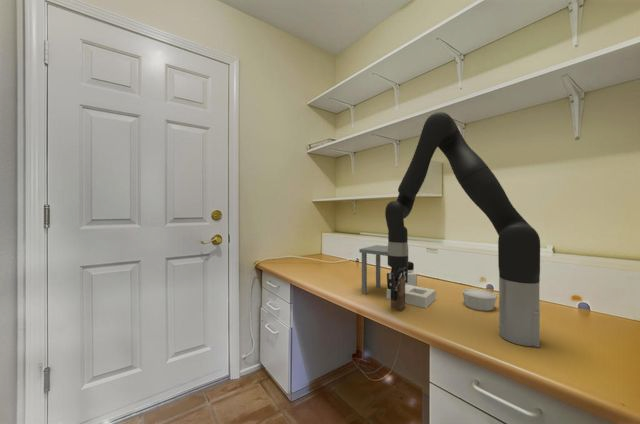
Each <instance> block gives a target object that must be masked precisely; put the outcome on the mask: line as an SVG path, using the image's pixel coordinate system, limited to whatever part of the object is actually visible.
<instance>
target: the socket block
mask: <svg viewBox="0 0 640 424" xmlns="http://www.w3.org/2000/svg"><path fill="white" fill-rule="evenodd" d="M436 296H437V293H436V289H432V288H426V287H421V286H418V285H417V286H412V285H407V284H406V285H405V305H407V304H408V305H411V306H415V307H418V308H419V307H420V308H423V309H427V308H428V307H430V305H432V304H433V303H434V302H435V301H436V298H437V297H436ZM386 300H389V301H391V290H390V289H388V288H387V289H386Z"/></svg>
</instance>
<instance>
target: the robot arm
mask: <svg viewBox="0 0 640 424" xmlns="http://www.w3.org/2000/svg"><path fill="white" fill-rule="evenodd" d="M437 148H438V149H439V150H440V151H441V152H442V153H443V155H444V156H445V157H446V159H447V160H448V163H449V165H450V168H451V170H452V172H453V174H454V176H455V178H456V181H457V182H458V184H459V185H460V187H461V188H462V190H463V191H464V192H465V194H466V195H467V196H468V197H469V199H470V200H471V202H473V203H474V204H475V205H476V207H478V208H479V210H481V211H482V212H483V213H484V215H485V216H486V217H487V218H488V220H489V221H490V222H491V224H492V225H493V227H494V229H495V231H496V233H497V235H498V239H497V241H498V242H497V247H498V248H497V249H498V250H497V253H498V254H497V256H498V265H497V267H498V274H499V275H498V336H500V337H501V338H503V339H504V340H506V341H508V342H510V343H512V344H515V345H519V346H524V347H535V348H540V344H541V343H540V334H541V332H540V328H541V327H540V326H541V325H540V317H541V315H540V314H541V313H540V311H541V310H540V309H541V308H540V304H541V303H540V281H541V278H540V277H541V275H540V274H541V238H540V236H539V233H538V231H536V229H535V228H534V227H533V226H531V225H530V224H529V223H528V222H527V220H526V219H524V217H523V216H522V215H521V214H520V213H519V211H517V209H516V208H515V207H514V205H513V204H512V202H511V201H510V199H509V197H508V196H507V193H506V192H505V189H504V188H503V186H502V184H501V182H500V181H499V180H498V178H497V176H496V175H495V174H494V173H493V171H492V170H491V168H490V167H489V166H488V164H487V163H485V161H484V160H483V159H482V157H480V155H478V154H477V153H476V152H475V151H474V150H473V149H472V148H471V146H469V144H468V143H467V141H466V140H465V138H464V137H463V135H462V133H461V131H460V129H459V128H458V125H457V123H456V122H455V120H454V119H453V118H452V117H451V115H449V114H448V113H446V112H444V111H438V112H434V113H432V114H430V115H429V117H427V118H426V120H425V122H424V124H423V127H422V130H421V133H420V137H419V139H418V142H417V145H416V149H415V150H414V153H413V156H412V158H411V161H410V163H409V165H408V168H407V170H406V172H405V173H404V176H403V178H402V180H401V181H400V183H399V186H398V189H397V192H398V196H397V199H396V200H392V201H389V202H388V203H387V204H386V206H385V210H384V211H385V212H384V217H385V222H386V226H387V230H388V232H387V239H388V242H387V246H388V256H387V266H388V267H390V269H391V270H390V272H387V273H386V287H387V289H390V290H391V300H394V301H396V300H397V288H398V285H399V284H400V279H401V277H405V285H406V283H407V282H408V268H406V267H408V261H409V244H408V241H409V240H408V239H409V238H408V237H409V236H408V234H409V233H408V232H409V231H408V228H407V227H406V226H405V222H404V221H405V220H404V219H406V218H407V217H408V216H409V215H410V213H411V212H412V209H413V206H414V204H415V200H416V198H417V195H418V194H419V192H420V190H421V187H422V186H423V184H424V182H425V181H426V180H425V179H426V177H427V174H428V171H429V167H430V163H431V160H432V159H433V156H434V153H435V152H436V150H437ZM395 281H397V282H395ZM395 284H396V285H395ZM391 300H390V301H391Z"/></svg>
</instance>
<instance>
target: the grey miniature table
mask: <svg viewBox="0 0 640 424" xmlns="http://www.w3.org/2000/svg"><path fill="white" fill-rule="evenodd" d="M358 252H359V253H361V294H362V295H365V296H366V295H367V294H368V282H367V281H368V280H367V279H368V278H367V277H368V275H367V273H368V272H367V271H368V268H367V267H368V265H367V264H368V263H367V261H368V260H367V259H368V258H367V256H368V254H371V255H375V287H376V288H381V256H385V257H388V245H379V244H376V245H370V246H367V247H362V248H359V251H358Z"/></svg>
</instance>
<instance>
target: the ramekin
mask: <svg viewBox="0 0 640 424" xmlns="http://www.w3.org/2000/svg"><path fill="white" fill-rule="evenodd" d="M461 291H462V295H463V302H464V305H465V306H466V307H468V308H470V309H473V310H476V311H481V312H490V311H493V310H494V308H495V305H496V300H497V298H498V297H497V294H496V293H493V292H491V291H488V290H484V289H479V288H478V289H477V288H467V289H464V290H461Z"/></svg>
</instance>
